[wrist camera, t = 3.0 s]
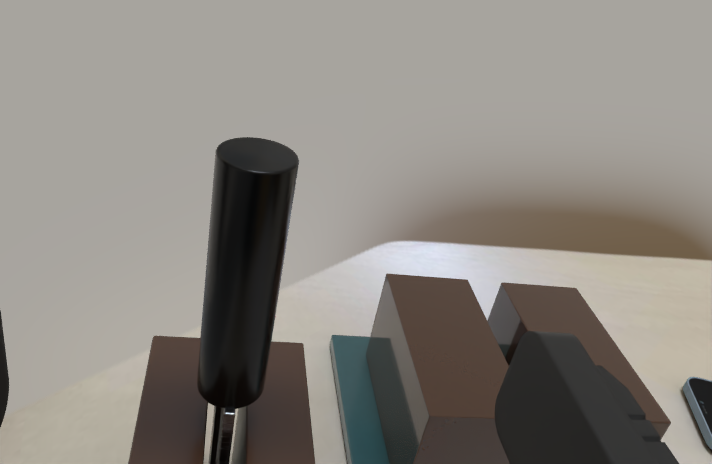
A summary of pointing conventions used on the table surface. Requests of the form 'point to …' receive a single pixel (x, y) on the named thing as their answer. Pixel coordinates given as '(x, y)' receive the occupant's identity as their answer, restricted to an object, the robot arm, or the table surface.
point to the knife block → (189, 410)
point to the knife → (243, 273)
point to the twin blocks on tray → (453, 368)
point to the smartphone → (701, 404)
